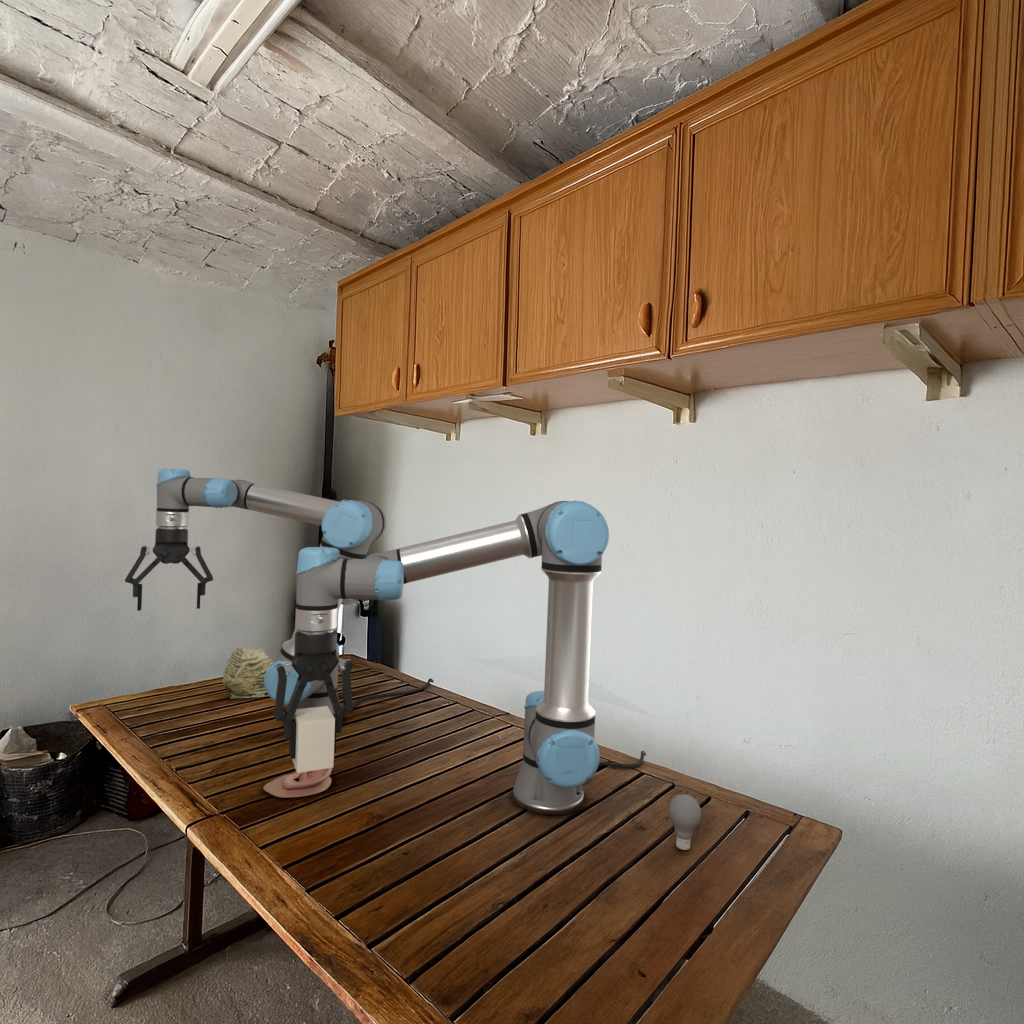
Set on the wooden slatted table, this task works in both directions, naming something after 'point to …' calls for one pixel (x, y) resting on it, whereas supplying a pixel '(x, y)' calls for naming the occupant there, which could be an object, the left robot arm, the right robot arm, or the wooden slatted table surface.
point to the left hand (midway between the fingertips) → (169, 608)
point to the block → (314, 739)
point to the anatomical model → (300, 784)
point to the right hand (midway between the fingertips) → (312, 752)
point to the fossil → (246, 673)
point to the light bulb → (684, 818)
